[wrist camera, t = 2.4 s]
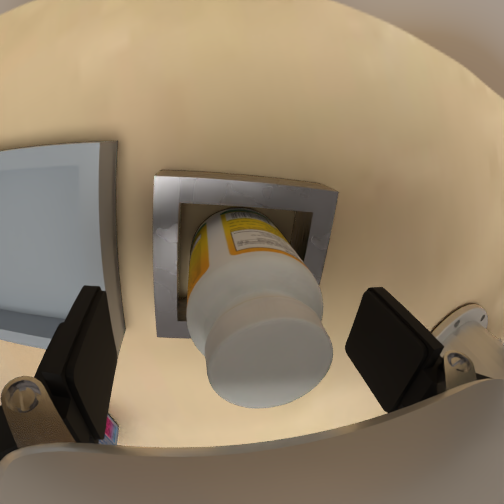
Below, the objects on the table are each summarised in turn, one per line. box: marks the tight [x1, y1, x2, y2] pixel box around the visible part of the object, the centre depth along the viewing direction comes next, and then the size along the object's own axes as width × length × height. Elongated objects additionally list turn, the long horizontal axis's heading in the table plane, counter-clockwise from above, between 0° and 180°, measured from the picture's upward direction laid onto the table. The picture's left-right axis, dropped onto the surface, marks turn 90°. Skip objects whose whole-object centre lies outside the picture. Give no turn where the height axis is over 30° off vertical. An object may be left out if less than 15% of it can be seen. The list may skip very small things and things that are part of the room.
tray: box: [0, 141, 126, 359], centre depth 13 cm, size 14×12×3 cm
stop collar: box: [153, 170, 338, 338], centre depth 16 cm, size 9×9×2 cm
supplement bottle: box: [186, 208, 333, 408], centre depth 13 cm, size 5×5×10 cm
